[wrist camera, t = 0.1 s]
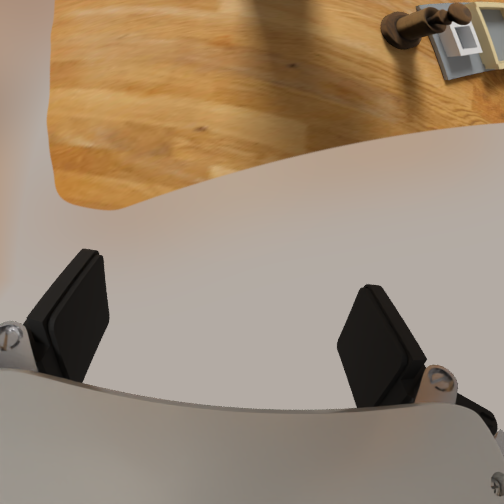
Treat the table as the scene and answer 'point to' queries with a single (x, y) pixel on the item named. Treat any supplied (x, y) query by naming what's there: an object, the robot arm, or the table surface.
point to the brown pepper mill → (421, 24)
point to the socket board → (471, 41)
